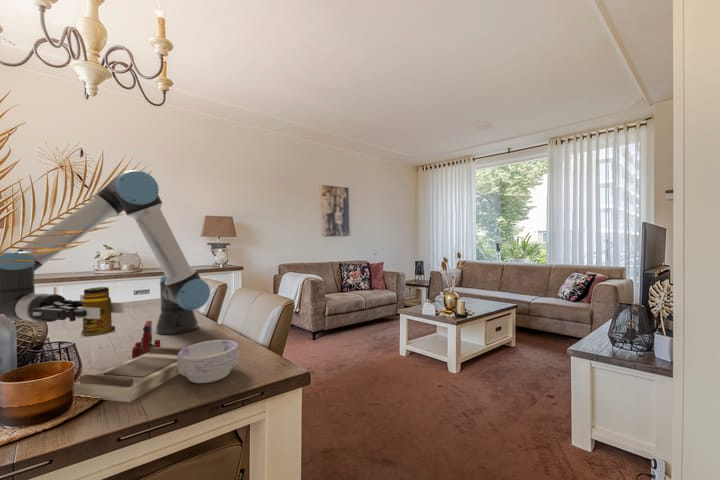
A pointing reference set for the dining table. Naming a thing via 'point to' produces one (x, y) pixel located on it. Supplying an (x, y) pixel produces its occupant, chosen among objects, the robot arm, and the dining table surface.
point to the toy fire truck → (145, 342)
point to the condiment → (103, 301)
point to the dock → (131, 376)
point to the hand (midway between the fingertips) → (111, 310)
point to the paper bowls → (208, 360)
